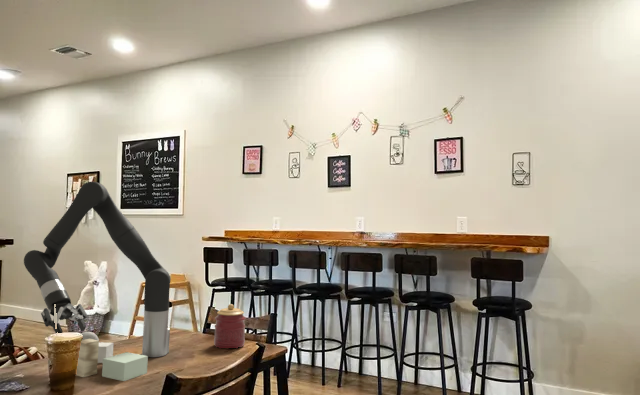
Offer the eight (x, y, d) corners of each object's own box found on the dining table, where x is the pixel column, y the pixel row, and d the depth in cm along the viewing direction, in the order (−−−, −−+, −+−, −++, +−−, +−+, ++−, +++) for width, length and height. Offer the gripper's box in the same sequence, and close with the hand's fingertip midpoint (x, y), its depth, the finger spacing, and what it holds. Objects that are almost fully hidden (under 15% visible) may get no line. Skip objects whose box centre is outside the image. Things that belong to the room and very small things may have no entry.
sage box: (125, 369, 169) (126, 352, 170) (146, 373, 165) (147, 356, 165) (101, 377, 160) (102, 358, 160) (123, 381, 156) (124, 363, 156)
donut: (72, 362, 175) (74, 334, 176) (68, 360, 177) (70, 332, 178) (100, 357, 183) (101, 330, 183) (96, 355, 185) (97, 329, 186)
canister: (207, 346, 203) (209, 304, 205) (228, 340, 214) (229, 300, 216) (230, 351, 197) (232, 307, 198) (250, 345, 208) (252, 304, 209)
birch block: (87, 370, 165) (89, 338, 166) (96, 373, 163) (98, 340, 164) (74, 374, 161) (76, 341, 162) (83, 377, 159) (85, 343, 159)
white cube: (89, 362, 175) (90, 346, 176) (96, 358, 181) (97, 342, 182) (105, 363, 175) (106, 346, 176) (112, 358, 181) (113, 342, 182)
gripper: (40, 290, 166) (57, 328, 160) (78, 286, 179) (96, 321, 172) (30, 304, 169) (47, 342, 162) (69, 299, 181) (86, 334, 174)
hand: (72, 331), depth 167 cm, fingers open, 8 cm apart
